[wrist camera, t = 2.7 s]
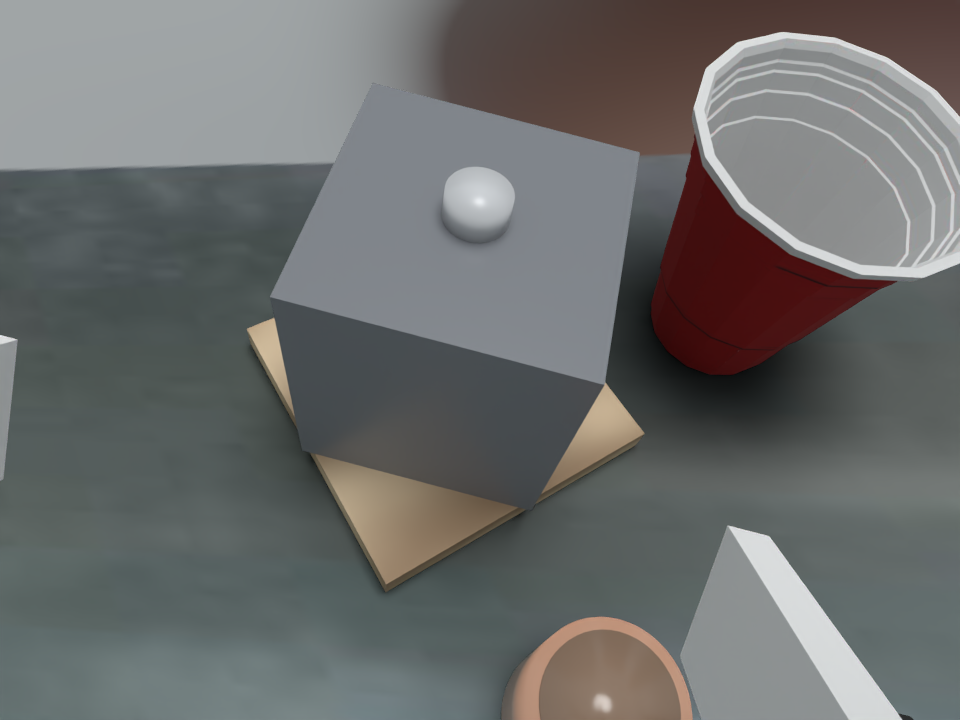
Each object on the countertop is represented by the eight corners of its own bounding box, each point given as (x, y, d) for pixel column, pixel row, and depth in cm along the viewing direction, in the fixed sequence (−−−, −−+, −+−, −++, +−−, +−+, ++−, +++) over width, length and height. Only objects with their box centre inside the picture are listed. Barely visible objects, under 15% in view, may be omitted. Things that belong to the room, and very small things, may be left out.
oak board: (635, 445, 30) (644, 433, 29) (385, 592, 26) (386, 584, 25) (485, 247, 35) (489, 231, 34) (250, 344, 30) (246, 328, 29)
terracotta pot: (671, 744, 25) (728, 736, 21) (555, 838, 23) (594, 849, 19) (586, 615, 27) (624, 585, 23) (473, 691, 25) (493, 674, 21)
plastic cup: (646, 451, 30) (786, 282, 20) (569, 253, 35) (649, 38, 25) (859, 409, 33) (1080, 240, 23) (759, 230, 38) (902, 26, 28)
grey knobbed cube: (567, 322, 32) (650, 128, 22) (531, 510, 27) (615, 365, 18) (372, 270, 32) (373, 55, 22) (301, 450, 27) (264, 273, 18)
